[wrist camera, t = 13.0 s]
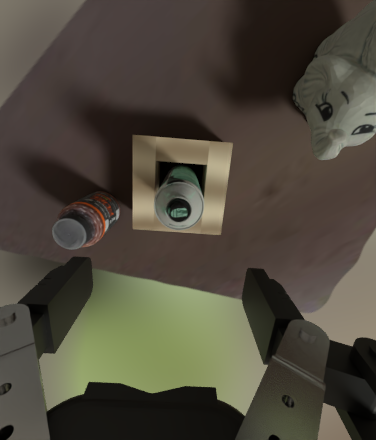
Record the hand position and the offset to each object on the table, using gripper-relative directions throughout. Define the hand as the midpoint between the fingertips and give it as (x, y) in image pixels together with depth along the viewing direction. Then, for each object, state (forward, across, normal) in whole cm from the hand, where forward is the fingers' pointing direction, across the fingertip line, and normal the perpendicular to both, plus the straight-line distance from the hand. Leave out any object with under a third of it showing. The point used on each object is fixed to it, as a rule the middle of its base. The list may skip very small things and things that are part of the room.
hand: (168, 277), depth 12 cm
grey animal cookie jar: (+31, -21, -15) cm, 40 cm away
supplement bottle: (+31, +14, +6) cm, 34 cm away
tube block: (+30, 0, 0) cm, 30 cm away
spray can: (+31, 0, 0) cm, 31 cm away
